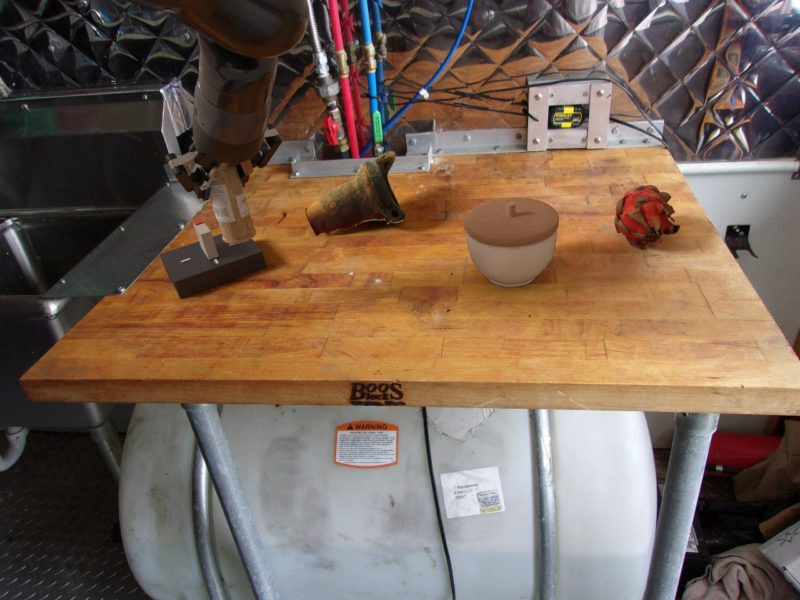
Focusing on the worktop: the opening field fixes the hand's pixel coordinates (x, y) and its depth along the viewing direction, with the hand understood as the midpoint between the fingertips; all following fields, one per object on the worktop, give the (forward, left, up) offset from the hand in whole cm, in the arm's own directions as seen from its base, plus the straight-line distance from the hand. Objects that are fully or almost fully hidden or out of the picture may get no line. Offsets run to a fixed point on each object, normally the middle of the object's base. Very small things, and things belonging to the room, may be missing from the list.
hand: (220, 188), depth 76 cm
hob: (-2, +13, -18) cm, 22 cm away
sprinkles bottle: (0, -2, -7) cm, 7 cm away
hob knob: (-2, +13, -15) cm, 20 cm away
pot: (+26, +11, -18) cm, 33 cm away
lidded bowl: (+33, -19, -18) cm, 42 cm away
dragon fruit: (+54, -24, -18) cm, 61 cm away
